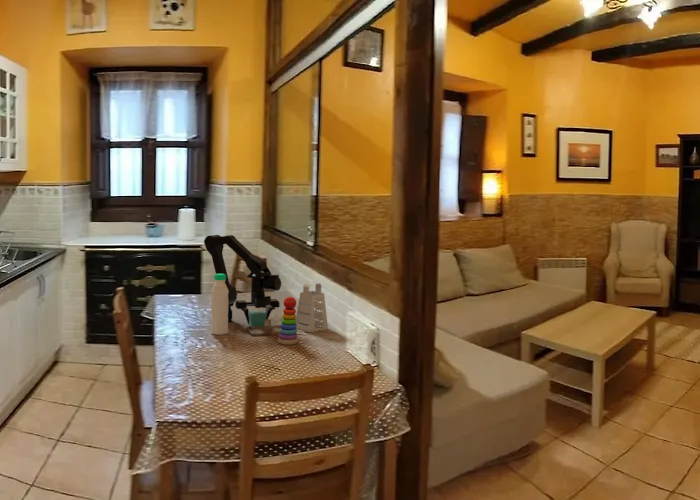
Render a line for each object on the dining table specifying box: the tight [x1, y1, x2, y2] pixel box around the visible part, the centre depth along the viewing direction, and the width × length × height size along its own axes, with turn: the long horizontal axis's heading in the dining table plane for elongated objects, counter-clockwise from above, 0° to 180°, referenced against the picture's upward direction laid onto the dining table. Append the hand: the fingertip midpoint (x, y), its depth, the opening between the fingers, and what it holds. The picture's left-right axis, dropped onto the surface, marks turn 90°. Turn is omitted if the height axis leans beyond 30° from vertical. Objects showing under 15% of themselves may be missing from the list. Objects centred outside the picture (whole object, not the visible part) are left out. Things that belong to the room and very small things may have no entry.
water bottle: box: [210, 273, 229, 336], centre depth 259 cm, size 7×7×25 cm
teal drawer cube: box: [248, 309, 266, 327], centre depth 276 cm, size 6×6×6 cm
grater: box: [295, 282, 329, 333], centre depth 273 cm, size 10×10×20 cm
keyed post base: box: [245, 318, 281, 337], centre depth 265 cm, size 16×12×5 cm
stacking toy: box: [277, 296, 299, 346], centre depth 248 cm, size 8×8×19 cm
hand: (257, 322), depth 276 cm, fingers open, 8 cm apart
